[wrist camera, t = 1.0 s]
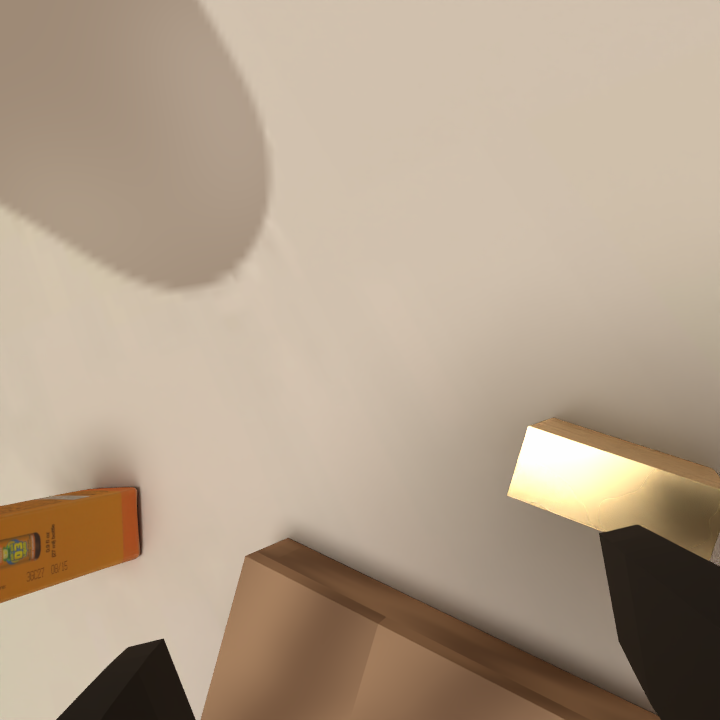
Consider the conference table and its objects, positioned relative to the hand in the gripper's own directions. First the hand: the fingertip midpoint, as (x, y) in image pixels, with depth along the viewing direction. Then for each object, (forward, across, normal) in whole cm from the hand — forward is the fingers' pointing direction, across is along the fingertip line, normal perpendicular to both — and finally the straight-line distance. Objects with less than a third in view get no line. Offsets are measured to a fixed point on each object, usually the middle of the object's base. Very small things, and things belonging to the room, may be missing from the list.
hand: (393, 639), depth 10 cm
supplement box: (+19, +13, +5) cm, 23 cm away
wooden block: (+10, -8, +4) cm, 13 cm away
